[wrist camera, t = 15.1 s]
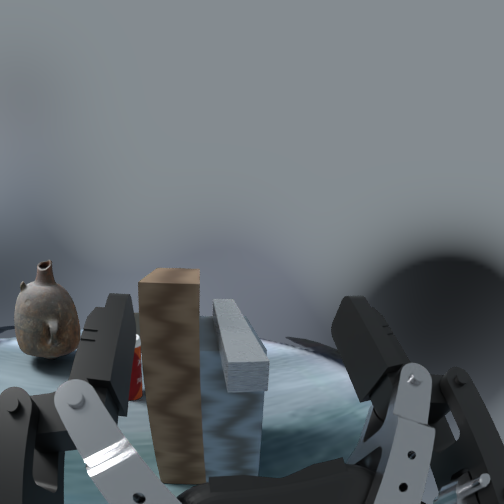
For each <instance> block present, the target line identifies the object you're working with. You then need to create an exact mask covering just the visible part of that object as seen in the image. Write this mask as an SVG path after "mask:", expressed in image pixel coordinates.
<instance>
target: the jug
mask: <svg viewBox="0 0 504 504" xmlns="http://www.w3.org/2000/svg"><path fill="white" fill-rule="evenodd" d="M20 288H21V292H20V294H19V296H18V298H17V301H16V306H15V316H14V322H15V333H16V338H17V342H18V345H19V347H20V349H21V350H22V351H23V352H24V353H25V354H28V355H32V356H37V357H44V358H47V359H56V358H58V357H59V356H63V355H67V354H69V353H71V352H73V351H74V350H76V349H77V348H78V345H79V341H80V325H79V319H78V315H77V311H76V307H75V305H74V302H73V300H72V298H71V296H70V295H69V293H68V292H67V291H66V290H65V289H64V288H63V287H62V286H61V285H59V284H57V283H56V282H55V280H54V277H53V272H52V261H51V260H48V261H46V262H40V263H39V264H38V266H37V276H36V280H35V281H34V282H31V283H29V284H28V285H26V284H25V283H24V282H22V283H21V285H20Z"/></svg>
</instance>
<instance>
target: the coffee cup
mask: <svg viewBox="0 0 504 504" xmlns="http://www.w3.org/2000/svg"><path fill="white" fill-rule="evenodd" d="M141 397H142V372H141V340H140V337H139V335H137V334H136V344H135V350H134V357H133V365H132V373H131V381H130V390H129V400H137V399H139V398H141Z"/></svg>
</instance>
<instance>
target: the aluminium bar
mask: <svg viewBox="0 0 504 504" xmlns="http://www.w3.org/2000/svg"><path fill="white" fill-rule="evenodd" d="M213 321H214V327H215V332H216V337H217V343H218V348H219V353H220V358H221V363H222V368H223V372H224V377H225V382H226V387H227V391H228V393H236V392H257V391H268V377H269V359H268V358H267V356H266V354H265V353H264V351H263V349H262V348H261V346H260V344H259V342H258V341H257V339H256V337H255V336H254V334H253V332H252V331H251V329H250V327H249V325H248V324H247V322H246V320H245V318H244V317H243V315H242V313H241V312H240V310H239V308H238V306H237V305H236V303H235V301H234V300H233V299H213Z"/></svg>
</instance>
